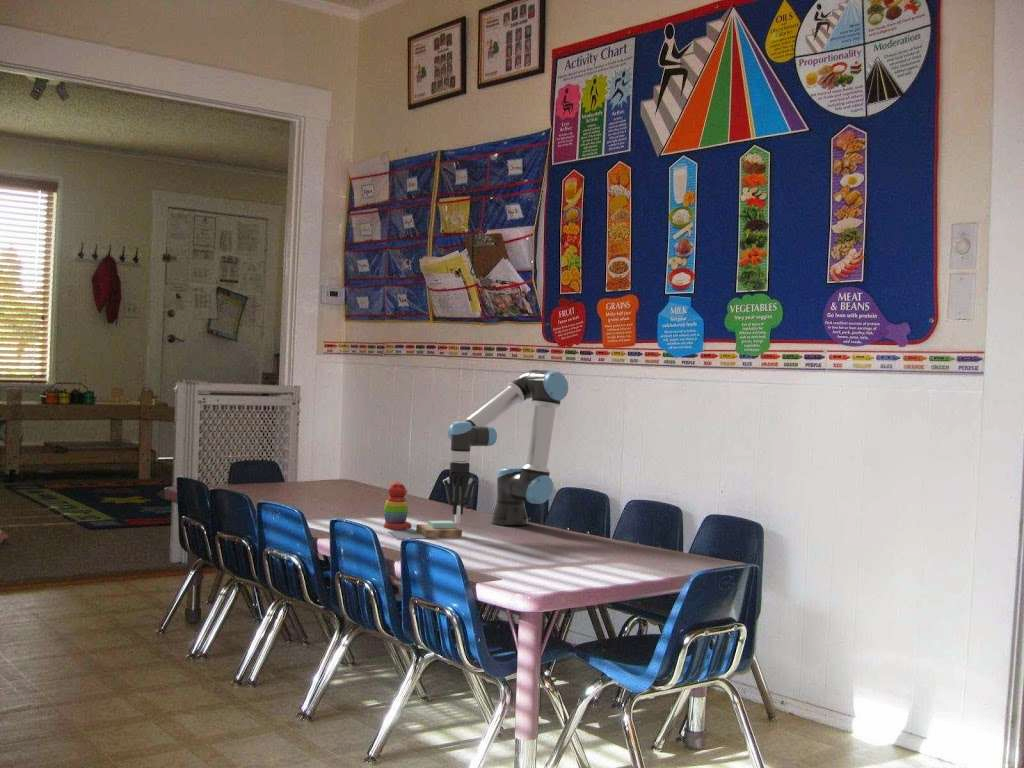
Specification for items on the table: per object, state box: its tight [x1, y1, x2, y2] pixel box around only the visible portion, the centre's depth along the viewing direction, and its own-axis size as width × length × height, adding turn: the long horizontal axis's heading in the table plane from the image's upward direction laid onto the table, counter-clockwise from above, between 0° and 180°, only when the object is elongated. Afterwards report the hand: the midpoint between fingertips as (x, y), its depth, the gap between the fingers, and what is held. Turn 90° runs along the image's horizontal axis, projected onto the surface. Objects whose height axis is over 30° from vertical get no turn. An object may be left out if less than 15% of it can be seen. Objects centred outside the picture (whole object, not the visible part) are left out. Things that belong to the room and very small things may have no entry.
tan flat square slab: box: [415, 523, 463, 539], centre depth 422 cm, size 14×14×3 cm
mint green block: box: [427, 520, 456, 529], centre depth 422 cm, size 9×6×2 cm, turn 110°
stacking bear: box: [383, 481, 412, 531], centre depth 435 cm, size 11×10×18 cm
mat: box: [387, 530, 428, 540], centre depth 417 cm, size 11×16×1 cm
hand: (457, 522), depth 424 cm, fingers closed
